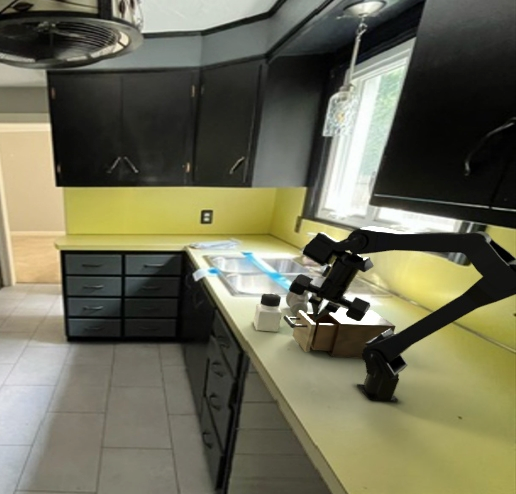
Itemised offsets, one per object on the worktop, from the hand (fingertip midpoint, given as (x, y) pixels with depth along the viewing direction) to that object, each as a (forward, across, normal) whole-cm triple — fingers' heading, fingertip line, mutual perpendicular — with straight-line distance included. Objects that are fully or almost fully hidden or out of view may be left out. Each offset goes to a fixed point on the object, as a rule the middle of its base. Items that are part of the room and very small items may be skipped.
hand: (315, 318), depth 101 cm
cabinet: (+14, -12, -11) cm, 21 cm away
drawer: (+13, -3, -5) cm, 15 cm away
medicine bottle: (+20, +13, -9) cm, 26 cm away
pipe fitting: (+27, +8, -31) cm, 42 cm away
